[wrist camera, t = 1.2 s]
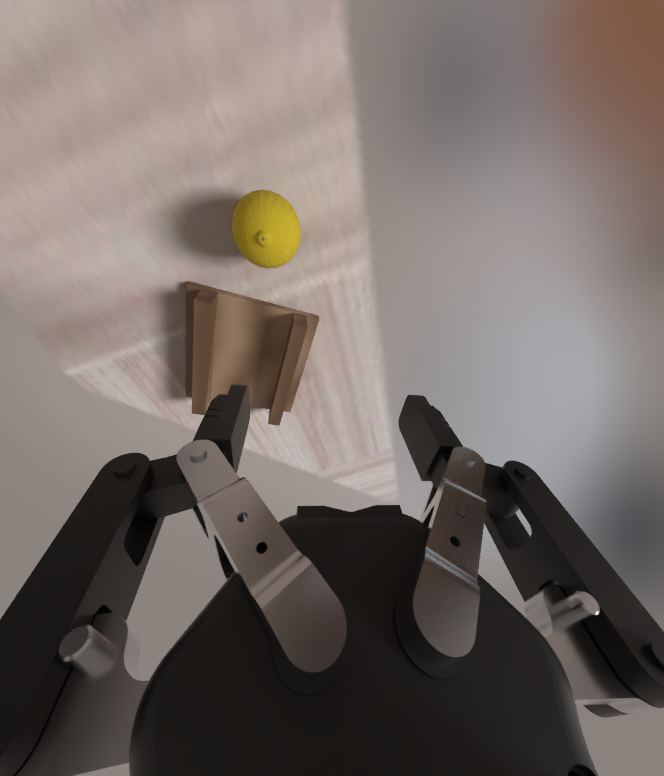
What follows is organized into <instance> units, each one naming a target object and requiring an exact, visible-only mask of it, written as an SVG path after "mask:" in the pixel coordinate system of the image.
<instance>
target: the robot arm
mask: <svg viewBox="0 0 664 776" xmlns="http://www.w3.org/2000/svg"><path fill="white" fill-rule="evenodd" d="M249 419H250V402H249V387H248V385H236V384H232V385H231V386H230V389H229V392H228V394H227V395H225V394H219V395H218V396H216V397H215V398H214V399H213V400H212V401H211V402H210V404H209V407H208V410H207V411H206V413H205V417H204V418H203V420H202V422H201V424H200V426H199V428H198V431H197V433H196V435H195V437H194V439H193V441H192V442H191V443H188V444H187V445H185V446H184V447H182V448H181V449H180V450H179V452H178V454H176V455H173V456H170V457H166V458H161V459H156V460H152V461H149V458H148V457H147V456H145V455H144V454H141V453H129V454H124V455H121V456H119V457H116V458H114V459H113V460H111V461H109V462H108V463H107V464H106V465H105V466H104V467H103V468H102V469H101V470H100V472H99V473H98V475H97V476H96V478H95V479H94V481H93V482H92V484H91V485H90V487H89V488H88V490H87V491H86V493H85V494H84V496H83V497H82V499H81V500H80V502H79V503H78V505H77V506H76V508H75V509H74V511H73V512H72V514H71V515H70V517H69V518H68V520H67V521H66V523H65V524H64V525H63V527H62V529H61V530H60V531H59V533H58V534H57V536H56V537H55V539H54V540H53V542H52V543H51V545H50V546H49V548H48V549H47V551H46V552H45V554H44V555H43V557H42V558H41V560H40V562H39V563H38V564H37V566H36V567H35V569H34V570H33V572H32V573H31V575H30V576H29V578H28V579H27V581H26V582H25V584H24V585H23V587H22V588H21V590H20V591H19V593H18V594H17V595H16V597H15V599H14V600H13V602H12V603H11V605H10V606H9V607H8V609H7V610H6V612H5V613H4V615H3V616H2V618H1V619H0V776H94V775H99V774H102V773H107V772H111V771H116V770H119V769H124V768H128V767H129V770H130V776H598V774H597V772H596V769H595V767H594V764H593V762H592V759H591V756H590V754H589V751H588V749H587V745H586V742H585V739H584V736H583V733H582V729H581V726H580V722H579V719H578V714H577V709H576V705H583V706H585V707H586V708H587V709H588V710H589V711H591V712H592V713H594V714H596V715H598V716H600V717H613V716H619V715H625V714H631V713H637V712H643V711H649V710H655V709H662V708H664V632H663V630H662V629H661V628H660V627H659V625H658V624H657V623H656V622H655V621H654V619H653V618H652V617H651V616H650V614H649V613H648V612H647V610H646V609H645V608H644V607H643V606H642V604H641V603H640V602H639V600H638V599H637V598H636V597H635V596H634V594H633V593H632V592H631V591H630V589H629V588H628V587H627V585H626V584H625V583H624V582H623V580H622V579H621V578H620V577H619V576H618V574H617V573H616V572H615V571H614V569H613V568H612V567H611V566H610V564H609V563H608V562H607V561H606V559H605V558H604V557H603V556H602V554H601V553H600V552H599V551H598V549H597V548H596V547H595V546H594V544H593V543H592V542H591V541H590V539H589V538H588V537H587V536H586V534H585V533H584V532H583V531H582V529H581V528H580V527H579V526H578V524H577V523H576V522H575V521H574V519H573V518H572V517H571V516H570V514H569V513H568V512H567V511H566V510H565V508H564V507H563V506H562V504H561V503H560V502H559V501H558V500H557V498H556V497H555V496H554V495H553V493H552V492H551V491H550V489H549V488H548V487H547V486H546V485H545V483H544V482H543V481H542V480H541V478H540V477H539V476H538V475H537V473H536V472H535V471H533V470H532V469H531V468H530V467H528V466H527V465H525V464H523V463H520V462H517V461H508V462H506V463H505V464H504V466H503V467H498V466H494V465H491V464H487V463H485V462H484V460H483V458H482V457H481V456H480V455H479V454H478V453H476V452H475V451H473V450H471V449H469V448H466V447H463V445H462V444H461V443H460V441H459V439H458V438H457V436H456V435H455V434H454V432H453V430H452V429H451V427H449V424H448V423H447V421H445V418H444V417H443V415H442V414H441V412H440V411H438V410H437V409H436V408H435V407H433V406H430V404H429V403H428V401H427V400H426V398H425V397H424V396H418V395H408V396H407V398H406V401H405V403H404V406H403V409H402V411H401V414H400V417H399V429H400V431H401V433H402V435H403V438H404V440H405V443H406V445H407V447H408V450H409V452H410V454H411V457H412V459H413V461H414V464H415V466H416V468H417V471H418V473H419V475H420V478H421V480H422V481H432V483H433V486H432V487H431V489H430V492H429V495H428V498H427V501H426V503H425V506H424V509H423V512H422V515H421V517H420V520H419V521H418V520H417V519H415V518H413V517H411V516H408V515H405V514H402V511H401V508H400V505H375V506H372V507H368V508H365V509H361V510H358V511H355V512H347V511H343V510H339V509H335V508H331V507H326V506H298V507H297V514H296V515H293V516H290V517H288V518H285V519H283V520H282V521H280V522H278V521H277V520H276V519H275V517H274V516H273V515H272V513H271V512H270V510H269V509H268V507H267V506H266V505H265V503H264V502H263V500H262V499H261V498H260V496H259V495H258V494H257V492H256V491H255V489H254V488H253V487H252V485H251V484H250V482H249V481H248V480H247V479H246V478H245V477H243V478H239V476H238V475H237V470H238V465H239V461H240V457H241V453H242V449H243V445H244V441H245V437H246V433H247V428H248V424H249ZM188 509H192V511H193V513H194V515H195V517H196V519H197V521H198V523H199V525H200V527H201V529H202V531H203V533H204V535H205V537H206V539H207V541H208V543H209V545H210V548H211V550H212V553H213V555H214V558H215V560H216V562H217V565H218V567H219V569H220V571H221V573H222V575H223V577H224V579H225V581H226V582H225V584H224V585H223V586H222V587H221V589H220V590H219V591H218V592H217V593H216V595H215V596H214V597H213V599H212V600H211V601H210V602H209V603H208V604H207V606H206V607H205V608H204V609H203V610H202V612H201V613H200V614H199V615H198V617H197V618H196V619H195V620H194V621H193V623H192V624H191V625H190V626H189V627H188V629H187V630H186V631H185V632H184V633H183V635H182V636H181V637H180V638H179V640H178V641H177V642H176V643H175V644H174V646H173V647H172V648H171V649H170V650H169V652H168V653H167V654H166V656H165V657H164V658H163V660H162V661H161V662H160V664H159V665H158V667H157V669H156V670H155V672H154V673H153V675H152V677H151V679H150V681H140V679H139V677H138V674H137V660H138V655H139V650H140V640H139V636H138V634H137V632H136V631H135V630H134V629H133V628H132V627H131V626H130V624H129V623H128V622H127V621H126V620H127V617H128V615H129V612H130V610H131V607H132V604H133V601H134V599H135V596H136V593H137V591H138V588H139V585H140V583H141V580H142V577H143V574H144V572H145V569H146V566H147V563H148V561H149V558H150V555H151V553H152V550H153V547H154V545H155V542H156V539H157V537H158V534H159V531H160V529H161V526H162V523H163V520H164V517H165V516H168V515H171V514H174V513H178V512H181V511H185V510H188ZM519 509H520V510H521V512H522V513H523V515H524V516H525V518H526V519H527V521H528V522H529V524H530V526H531V530H532V535H531V537H530V536H529V534H528V533H527V531H526V529H525V528H524V526H523V525H522V523H521V522H520V520H519V518H518V517H517V515H516V514H515V513H516V512H517V511H518V510H519ZM484 523H485V525H486V527H487V529H488V531H489V533H490V535H491V537H492V538H493V541H494V543H495V544H496V547H497V549H498V551H499V552H500V555H501V556H502V558H503V560H504V562H505V564H506V566H507V568H508V570H509V572H510V574H511V576H512V578H513V580H514V582H515V584H516V586H517V588H518V590H519V592H520V593H521V595H522V597H523V599H524V601H525V613H526V617H527V619H526V618H525V617H524V616H523V615H522V614H521V613H520V612H519V611H518V610H517V609H516V608H515V607H513V606H512V605H511V604H510V603H509V602H508V601H507V600H506V599H505V598H504V597H503V596H502V595H501V594H499V593H498V592H497V591H496V590H495V589H494V588H493V587H492V586H491V585H490V584H489V583H488V582H486V581H485V580H484V579H483V578H482V577H481V576H480V575H479V574H478V569H479V561H480V553H481V545H482V536H483V528H484Z"/></svg>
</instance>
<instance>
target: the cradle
mask: <svg viewBox="0 0 664 776" xmlns="http://www.w3.org/2000/svg"><path fill="white" fill-rule="evenodd" d="M318 321H319V316H317V315H313V314H310V313H306V312H302V311H298V310H295V309H291V308H287V307H283V306H280V305H276V304H272V303H268V302H265V301H261V300H257V299H253V298H249V297H246V296H242V295H238V294H234V293H231V292H227V291H223V290H219V289H216V288H212V287H208V286H204V285H201V284H197V283H193V282H189V283H188V284H187V292H186V396H189V397H192V413H193V414H200V415H205V413H206V410H207V408H208V405H209V402H210V400H213V399H214V398H215V397H216V396H218V395H219V394H225V395H227V394H228V392H229V389H230V386H231V385H232V384H236V385H248V387H249V402H250V406H254V407H260V408H267V409H270V412H269V422H268V424H272V425H280V421H281V418H282V414H283V411H286V412H290V411H291V408H292V405H293V402H294V399H295V395H296V392H297V389H298V386H299V383H300V379H301V376H302V373H303V370H304V366H305V363H306V360H307V357H308V354H309V350H310V347H311V344H312V341H313V337H314V334H315V331H316V328H317V325H318Z"/></svg>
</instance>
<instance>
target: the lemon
mask: <svg viewBox="0 0 664 776" xmlns="http://www.w3.org/2000/svg"><path fill="white" fill-rule="evenodd" d="M232 233H233V237H234V240H235V243H236V245H237V247H238V249H239V250H240V252H241V253H242V254H243V255H244V257H245V258H246V259H248V260H249V261H250V262H251V263H253V264H255V265H257V266H259V267H264V268H277V267H280V266H283V265H284V264H286V263H287V262H289V261H290V260H291V259H292V257H293V256H294V255H295V253H296V251H297V249H298V247H299V243H300V238H301V231H300V224H299V220H298V217H297V215H296V213H295V211H294V209H293V207H292V206H291V205H290V204H289V202H288V201H287V200H286V199H284V198H283V197H282V196H280V195H279V194H277V193H274V192H272V191H267V190H258V191H253V192H251V193H249V194H247V195H245V196H244V197H243V198H242V199H241V200H240V201H239V202H238V204H237V206H236V208H235V210H234V213H233V218H232Z"/></svg>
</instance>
